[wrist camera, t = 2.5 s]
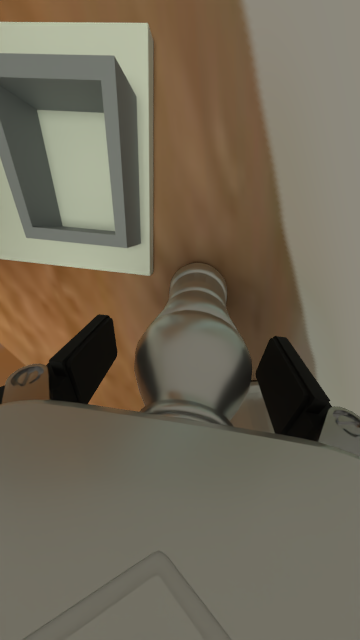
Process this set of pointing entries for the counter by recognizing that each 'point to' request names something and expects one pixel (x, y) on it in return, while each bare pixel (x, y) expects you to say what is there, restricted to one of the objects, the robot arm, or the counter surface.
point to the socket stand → (77, 145)
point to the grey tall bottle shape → (194, 352)
